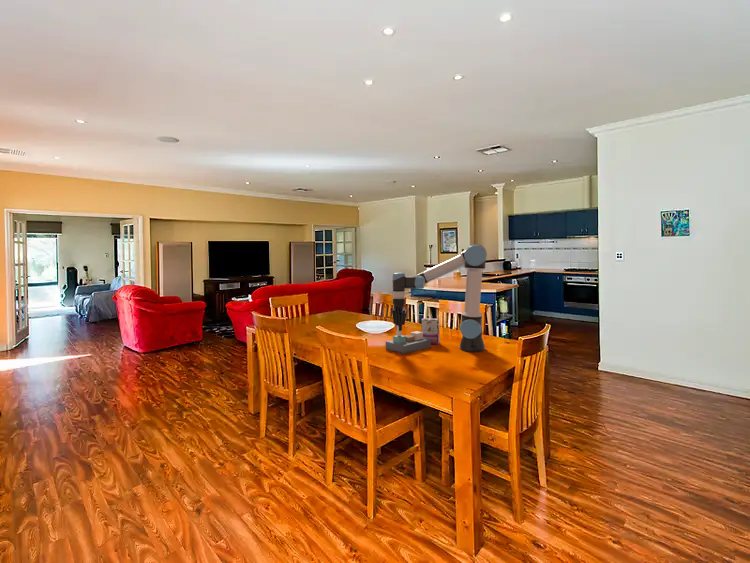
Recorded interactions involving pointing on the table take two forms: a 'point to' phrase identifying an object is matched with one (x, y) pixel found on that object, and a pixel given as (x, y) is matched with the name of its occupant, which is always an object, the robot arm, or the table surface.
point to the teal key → (399, 339)
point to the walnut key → (409, 338)
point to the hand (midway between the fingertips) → (399, 335)
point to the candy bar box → (430, 329)
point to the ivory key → (417, 335)
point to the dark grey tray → (408, 346)
